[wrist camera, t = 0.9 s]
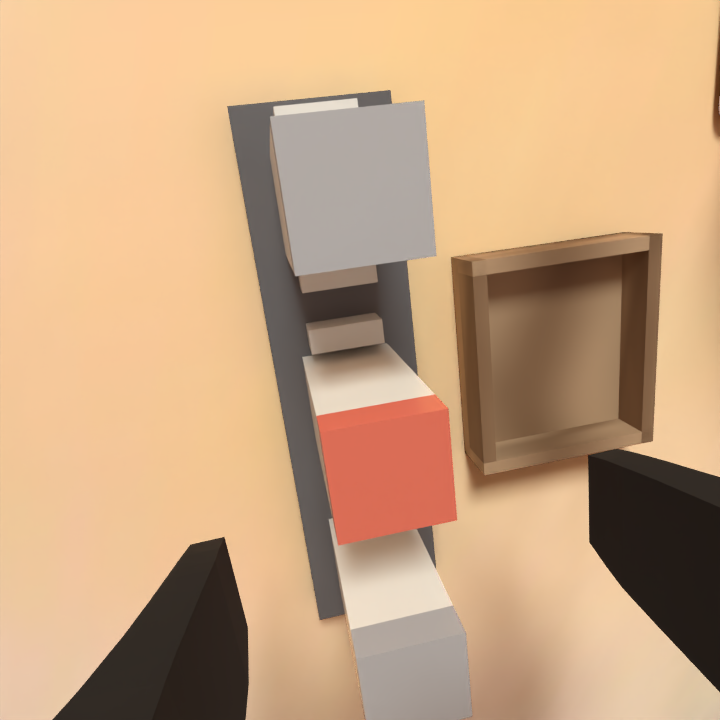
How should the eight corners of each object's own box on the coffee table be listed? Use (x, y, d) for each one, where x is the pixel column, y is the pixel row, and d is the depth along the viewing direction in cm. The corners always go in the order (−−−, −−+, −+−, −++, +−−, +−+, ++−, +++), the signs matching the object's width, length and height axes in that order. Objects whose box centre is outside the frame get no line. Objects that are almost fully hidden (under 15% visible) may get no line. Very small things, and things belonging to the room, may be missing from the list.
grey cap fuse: (364, 145, 16) (424, 100, 10) (375, 242, 17) (436, 255, 11) (269, 156, 16) (270, 116, 10) (285, 254, 17) (295, 276, 10)
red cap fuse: (386, 342, 18) (448, 408, 12) (395, 420, 19) (457, 520, 13) (302, 356, 18) (319, 432, 11) (315, 435, 18) (338, 545, 12)
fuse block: (382, 98, 17) (399, 80, 15) (429, 573, 22) (447, 613, 20) (230, 114, 16) (224, 97, 14) (317, 598, 22) (322, 643, 19)
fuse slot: (404, 503, 20) (465, 632, 14) (411, 567, 21) (472, 716, 14) (328, 519, 19) (356, 659, 13) (339, 583, 20) (369, 743, 14)
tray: (624, 232, 20) (662, 233, 18) (619, 421, 22) (652, 441, 20) (451, 257, 19) (472, 261, 17) (465, 452, 21) (484, 475, 19)
